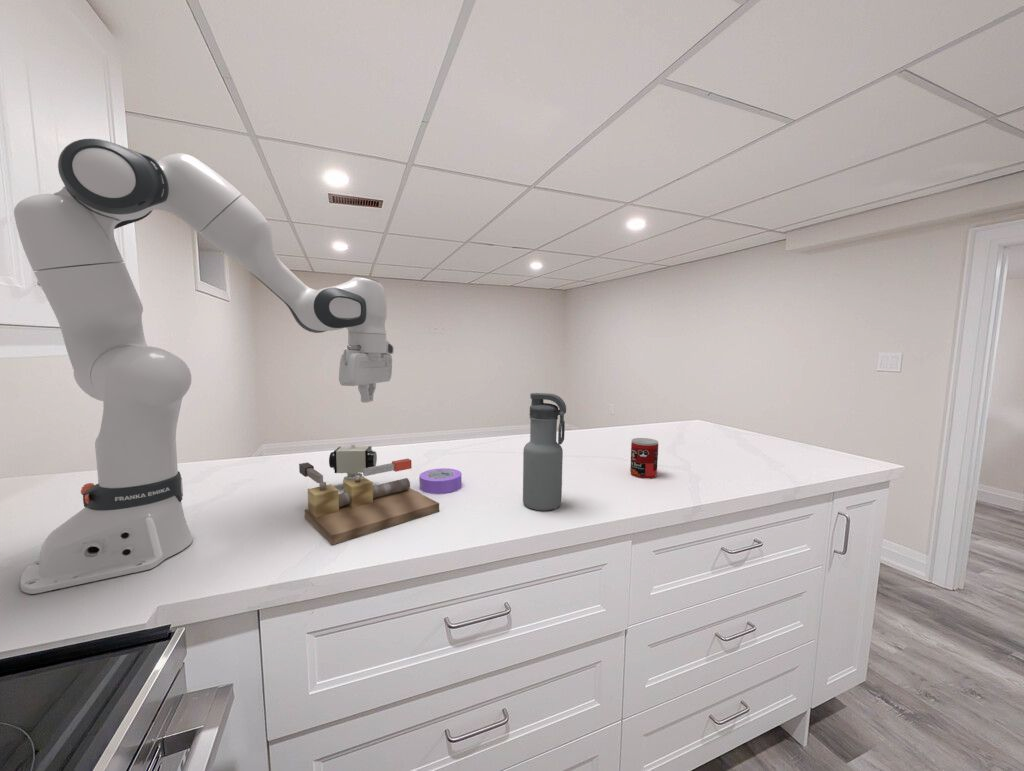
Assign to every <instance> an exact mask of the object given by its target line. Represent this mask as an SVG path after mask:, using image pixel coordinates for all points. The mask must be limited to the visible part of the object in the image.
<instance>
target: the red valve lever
mask: <svg viewBox="0 0 1024 771" xmlns="http://www.w3.org/2000/svg"><path fill="white" fill-rule="evenodd" d="M411 469H412V459H410V458H404V459H397V460H392V461H391V462H390V463H385V464H380V465H376V466H374V467H369V468H363V473H362V476H364V477H368V476H373V475H377V474H382V473H389V472H401V471H406V470H411ZM355 481H356V482H358V481H361V475H355Z"/></svg>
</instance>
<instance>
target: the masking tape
mask: <svg viewBox="0 0 1024 771" xmlns="http://www.w3.org/2000/svg"><path fill="white" fill-rule="evenodd" d="M418 479H419V490H420V491H421V492H423V493H427V494H432V495H443V494H450V493H453V492H456V491H459V490H460V489H461V488H462V487H463V486H462V482H463V480H462V472H461V471H460V470H459V469H455V468H446V467H445V468H442V467H441V468H433V469H428V470H424V471H423V472H421V473H420V474H419V478H418Z"/></svg>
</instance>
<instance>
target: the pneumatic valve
mask: <svg viewBox="0 0 1024 771" xmlns="http://www.w3.org/2000/svg"><path fill="white" fill-rule="evenodd" d="M372 448H373V446H372V445H371V446H370V445H369V446H360V445H359V446H356V444H355V443H354V444H351V445H350V446H338V447H337V448H336V449H334V450H333V451H331V452H330V454H329V457H328V465H329V468H330V469H333V470H334V474H346V476H344V477H343V478H342V479H343V480H342V482H343V481H348V480H352V479H355V475H361V477H365V476H364V475H363V468H369V467H374V466H377V460H378V458H377V456H378V455H377V454H378V453H377V452H376V451H375V450H373V449H372Z"/></svg>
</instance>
